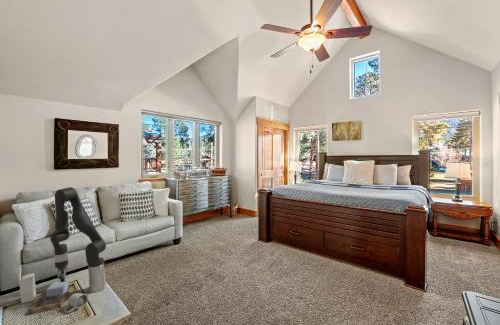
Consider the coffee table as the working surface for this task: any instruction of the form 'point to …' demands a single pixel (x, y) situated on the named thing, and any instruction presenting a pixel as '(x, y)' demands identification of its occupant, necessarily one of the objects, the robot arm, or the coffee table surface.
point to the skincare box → (27, 288)
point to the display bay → (48, 307)
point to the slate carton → (57, 289)
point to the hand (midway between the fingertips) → (62, 282)
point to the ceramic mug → (76, 301)
